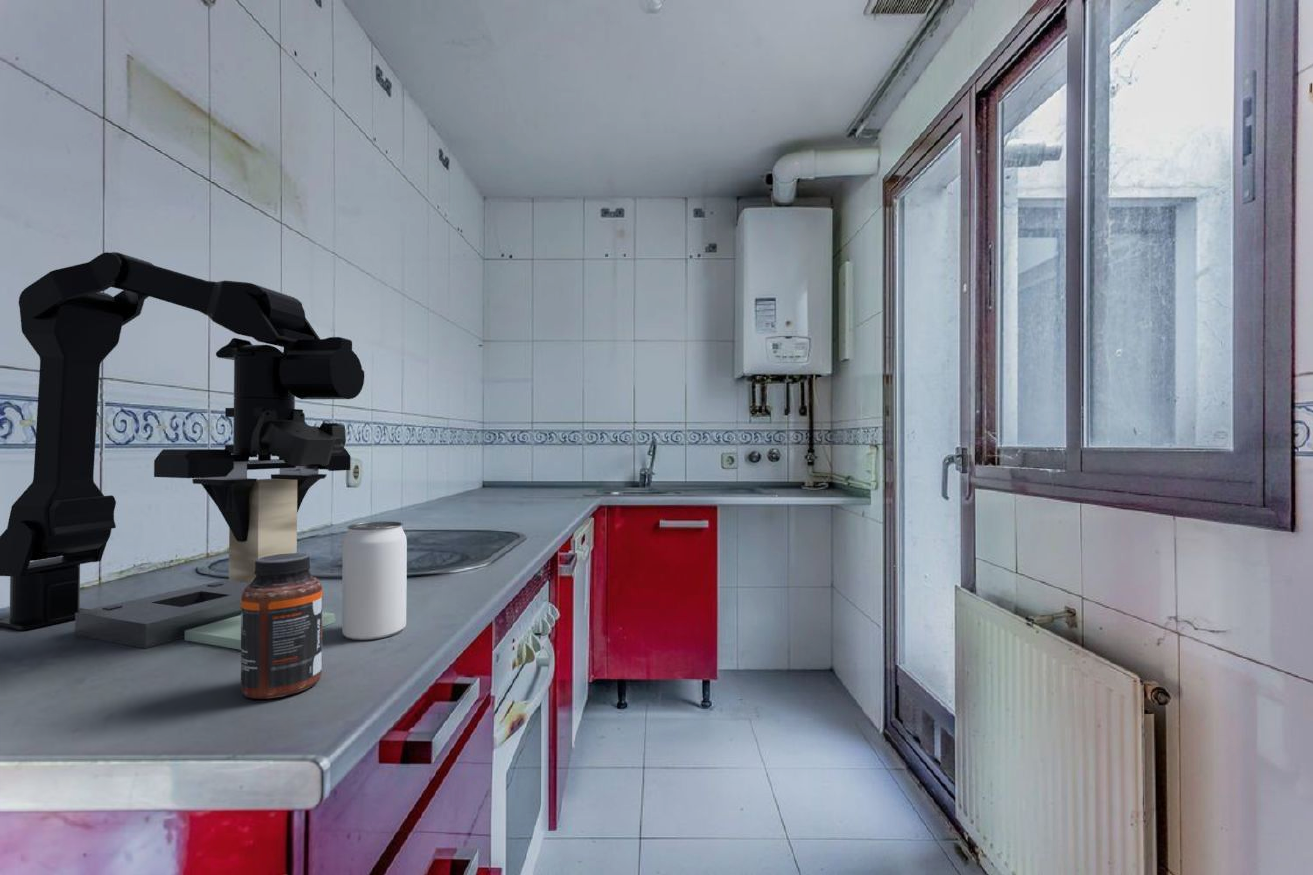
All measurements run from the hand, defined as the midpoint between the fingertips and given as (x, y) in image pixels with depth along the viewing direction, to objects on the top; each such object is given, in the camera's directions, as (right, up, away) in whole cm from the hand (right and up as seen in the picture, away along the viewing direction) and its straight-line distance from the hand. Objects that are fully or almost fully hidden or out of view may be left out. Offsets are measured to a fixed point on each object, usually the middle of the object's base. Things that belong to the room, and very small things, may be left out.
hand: (263, 538), depth 65 cm
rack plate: (-11, -10, +4) cm, 16 cm away
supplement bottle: (+12, -11, -15) cm, 22 cm away
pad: (0, -10, 0) cm, 10 cm away
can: (+13, -11, 0) cm, 17 cm away
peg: (0, -5, 0) cm, 4 cm away
